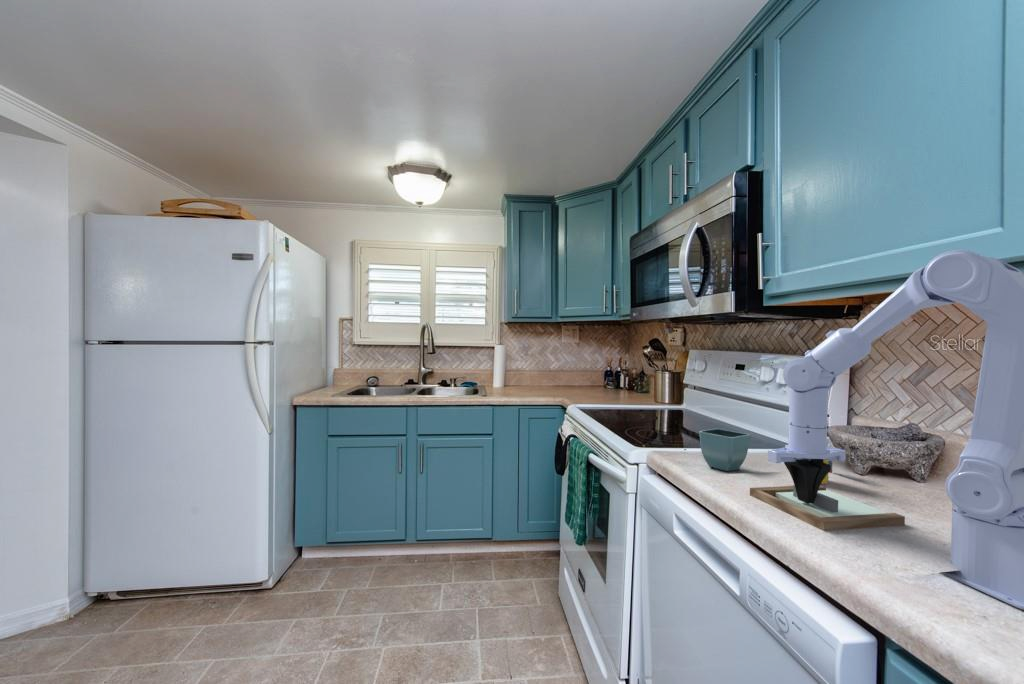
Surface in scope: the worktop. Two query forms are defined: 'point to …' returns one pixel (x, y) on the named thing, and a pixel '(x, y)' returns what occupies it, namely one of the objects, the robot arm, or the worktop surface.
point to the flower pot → (724, 448)
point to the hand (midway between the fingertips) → (805, 501)
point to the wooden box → (825, 522)
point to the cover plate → (829, 504)
